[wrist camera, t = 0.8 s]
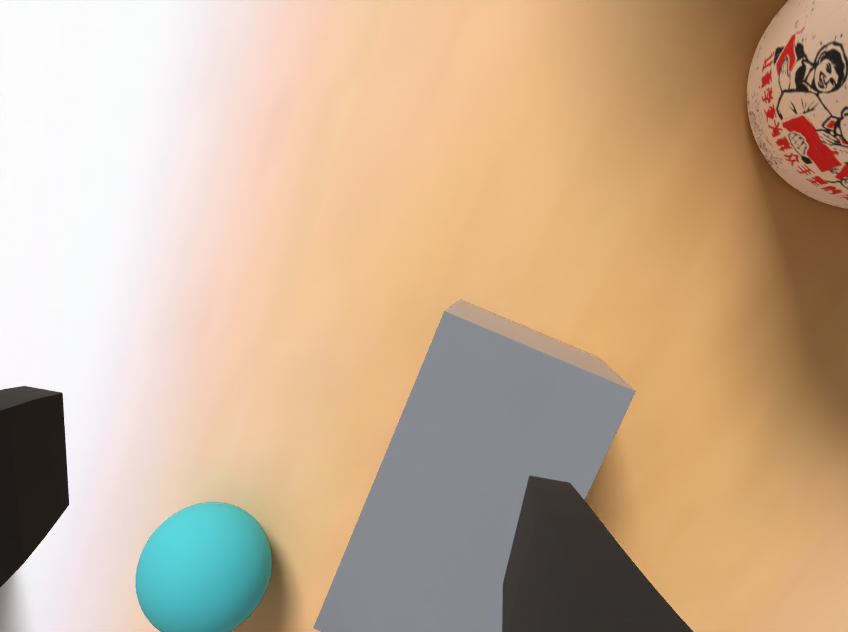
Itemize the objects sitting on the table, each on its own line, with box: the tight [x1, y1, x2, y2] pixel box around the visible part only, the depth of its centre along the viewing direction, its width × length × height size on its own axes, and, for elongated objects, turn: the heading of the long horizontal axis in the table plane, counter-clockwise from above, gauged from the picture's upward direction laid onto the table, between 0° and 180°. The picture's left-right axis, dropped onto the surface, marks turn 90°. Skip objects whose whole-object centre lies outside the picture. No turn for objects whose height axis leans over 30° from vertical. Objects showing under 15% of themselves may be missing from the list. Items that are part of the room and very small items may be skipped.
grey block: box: [314, 300, 636, 632], centre depth 20 cm, size 11×6×6 cm, turn 157°
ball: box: [136, 502, 272, 632], centre depth 23 cm, size 5×5×5 cm
